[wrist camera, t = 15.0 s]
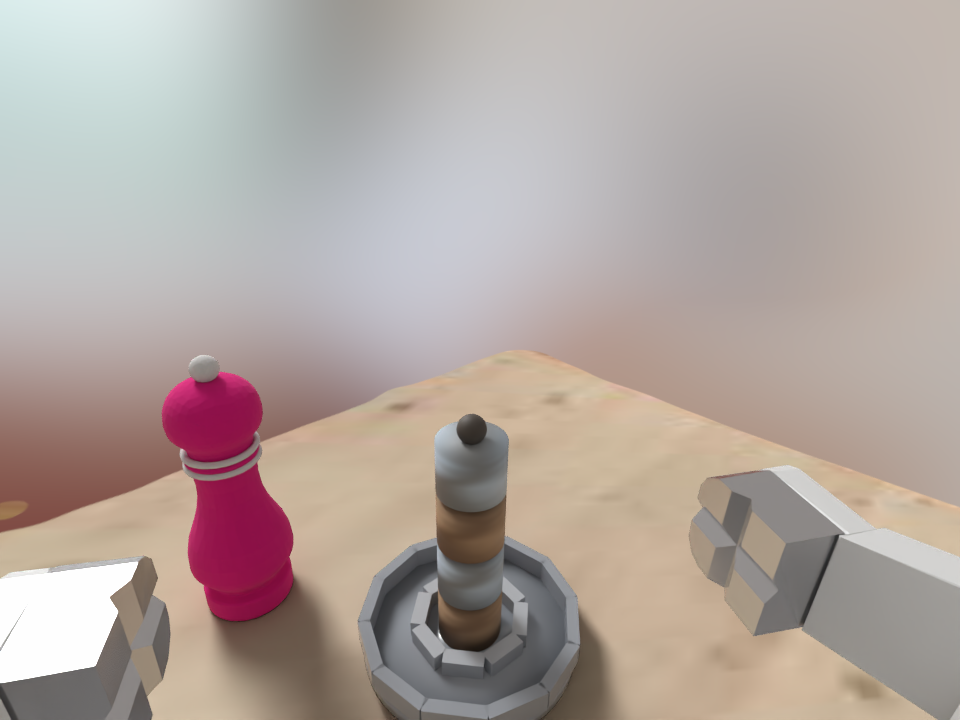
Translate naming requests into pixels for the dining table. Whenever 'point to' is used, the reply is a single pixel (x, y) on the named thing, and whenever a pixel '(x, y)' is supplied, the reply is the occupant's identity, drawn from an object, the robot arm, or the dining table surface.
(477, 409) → the dining table surface
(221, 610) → the pepper mill
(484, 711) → the tray
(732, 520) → the robot arm
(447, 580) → the bead column
